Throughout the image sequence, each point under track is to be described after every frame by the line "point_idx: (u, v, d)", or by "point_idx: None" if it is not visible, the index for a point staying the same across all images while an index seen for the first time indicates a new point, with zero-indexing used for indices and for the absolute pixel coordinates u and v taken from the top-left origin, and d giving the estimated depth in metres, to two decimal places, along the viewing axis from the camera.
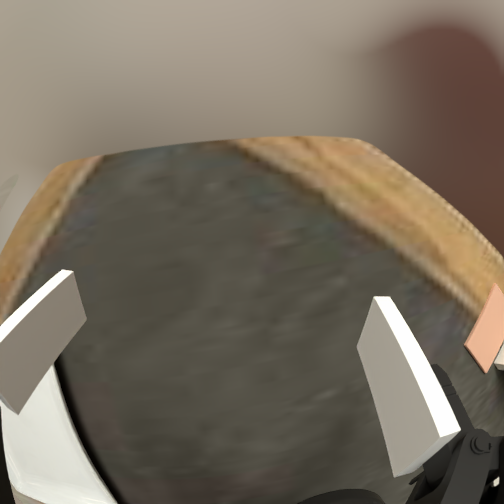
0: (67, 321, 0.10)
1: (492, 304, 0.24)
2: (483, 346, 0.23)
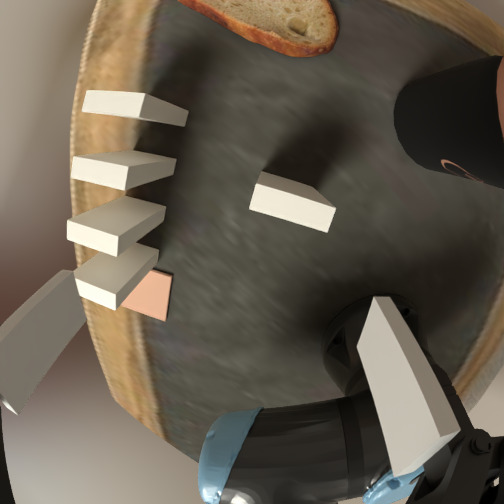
0: (67, 321, 0.10)
1: None
2: (153, 297, 0.34)
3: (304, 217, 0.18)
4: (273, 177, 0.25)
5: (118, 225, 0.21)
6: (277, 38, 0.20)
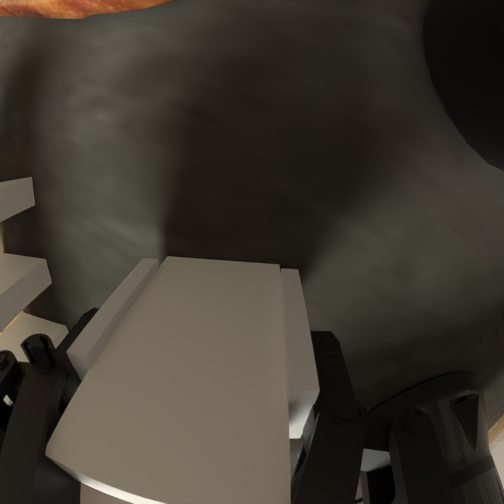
0: None
1: None
2: None
3: None
4: (170, 293, 0.10)
5: None
6: None
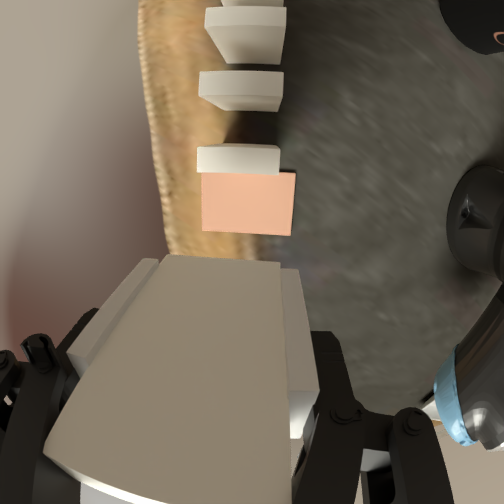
0: None
1: (226, 222, 0.31)
2: (274, 205, 0.29)
3: None
4: (170, 291, 0.10)
5: None
6: None
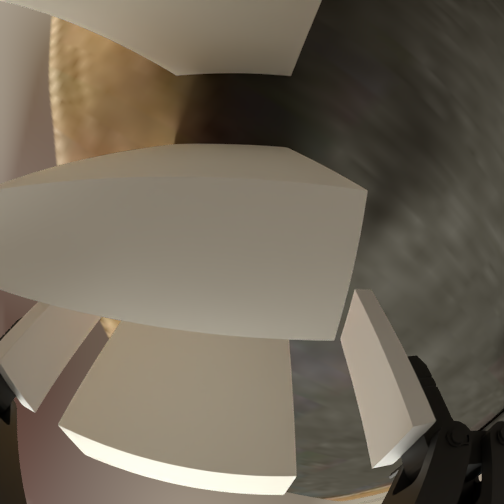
0: (84, 317, 0.10)
1: None
2: None
3: (208, 485, 0.05)
4: None
5: None
6: None
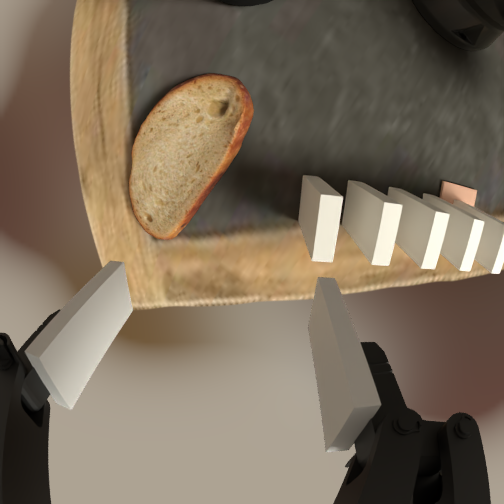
0: (117, 311, 0.11)
1: None
2: (459, 200, 0.29)
3: None
4: None
5: (422, 217, 0.22)
6: (240, 124, 0.26)
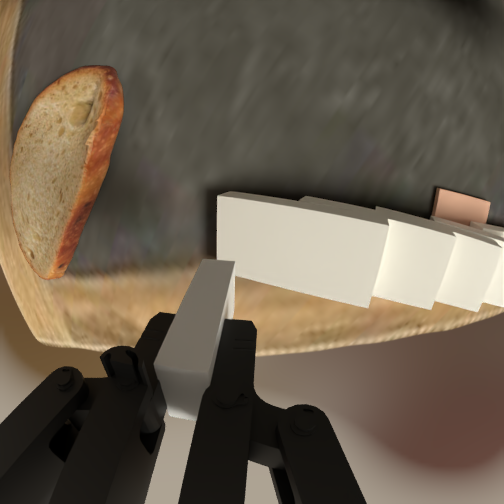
0: None
1: None
2: (464, 218, 0.18)
3: None
4: None
5: (478, 256, 0.15)
6: (96, 134, 0.15)
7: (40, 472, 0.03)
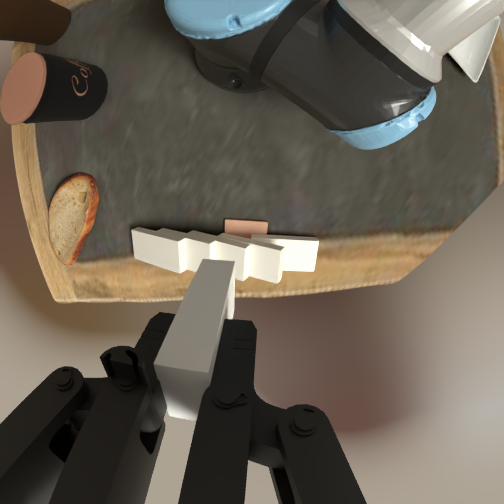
0: None
1: None
2: (246, 232, 0.46)
3: None
4: None
5: (232, 252, 0.42)
6: (89, 210, 0.43)
7: (40, 472, 0.03)
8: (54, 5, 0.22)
